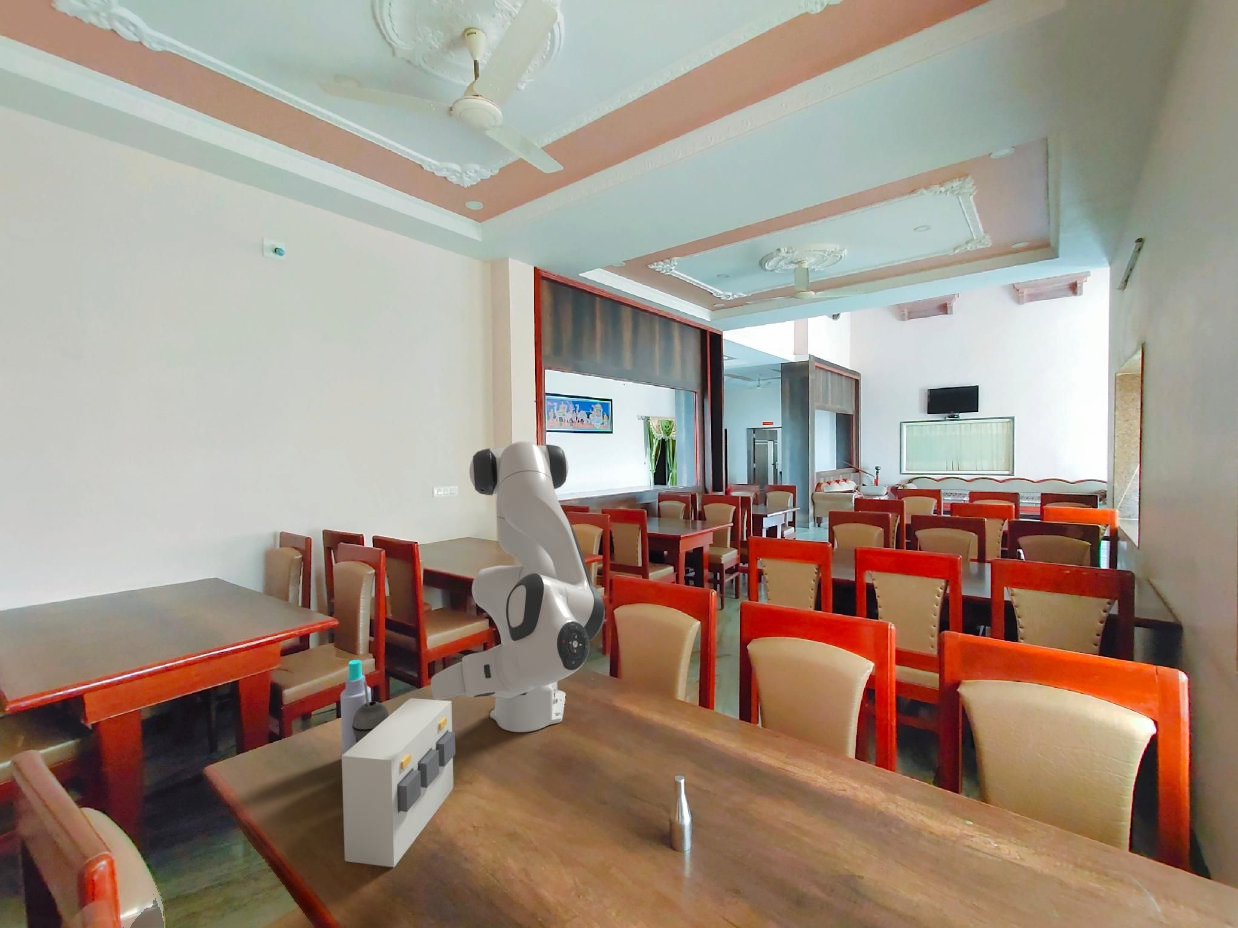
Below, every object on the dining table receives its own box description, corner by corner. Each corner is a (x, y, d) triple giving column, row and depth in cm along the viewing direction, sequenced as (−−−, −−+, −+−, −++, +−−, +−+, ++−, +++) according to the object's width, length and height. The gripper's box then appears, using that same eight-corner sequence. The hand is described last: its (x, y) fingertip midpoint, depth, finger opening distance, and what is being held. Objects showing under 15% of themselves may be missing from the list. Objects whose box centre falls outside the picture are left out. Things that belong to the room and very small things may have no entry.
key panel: (412, 784, 113) (410, 698, 112) (455, 788, 111) (453, 701, 110) (344, 860, 92) (341, 755, 91) (396, 867, 90) (393, 760, 90)
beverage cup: (377, 788, 111) (374, 691, 111) (345, 784, 113) (342, 688, 112) (398, 767, 119) (396, 676, 118) (368, 763, 120) (366, 673, 119)
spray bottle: (336, 763, 120) (333, 665, 119) (358, 749, 126) (355, 655, 125) (356, 769, 118) (353, 669, 117) (378, 754, 124) (376, 658, 123)
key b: (437, 752, 109) (437, 730, 109) (455, 753, 109) (454, 732, 109) (426, 764, 105) (426, 742, 105) (444, 766, 104) (444, 743, 104)
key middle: (420, 771, 103) (420, 748, 103) (439, 773, 102) (438, 750, 102) (408, 785, 99) (407, 761, 99) (427, 787, 98) (426, 763, 98)
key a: (401, 793, 97) (400, 768, 96) (420, 795, 96) (420, 770, 96) (386, 809, 92) (386, 783, 92) (407, 811, 92) (406, 785, 91)
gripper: (551, 644, 103) (505, 663, 110) (458, 655, 87) (411, 676, 94) (558, 679, 100) (510, 696, 107) (463, 697, 85) (415, 715, 92)
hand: (463, 687), depth 101 cm, fingers open, 8 cm apart
